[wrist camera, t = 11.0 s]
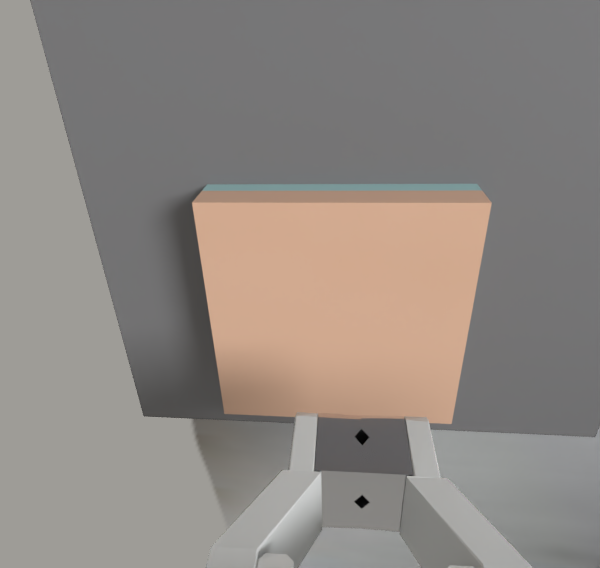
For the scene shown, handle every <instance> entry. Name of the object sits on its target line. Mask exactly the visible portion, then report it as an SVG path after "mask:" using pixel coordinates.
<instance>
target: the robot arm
mask: <svg viewBox="0 0 600 568" xmlns="http://www.w3.org/2000/svg"><path fill="white" fill-rule="evenodd" d="M322 527H334V528H362V529H373V530H385V531H396V532H400V535H401V537H402V538H403V540H404V541H405V543H406V544H407V546H408V548H409V549H410V551H411V552H412V554H413V555H414V557H415V558H416V560H417V561H418V563H419V565H420V566H421V568H533V567H532V566H531V565H530V564H529V563H528V562H527V561H526V560H525V559H524V558H523V557H522V556H521V555H520V553H519V552H518V551H517V550H516V549H515V548H514V547H513V546H512V545H511V544H510V543H509V542H508V541H507V540H506V539H505V538H504V537H503V536H502V535H501V534H500V532H499V531H498V530H497V529H496V528H495V527H494V526H493V525H492V524H491V523H490V522H489V521H488V520H487V519H486V518H485V517H484V516H483V515H482V514H481V513H480V511H479V510H478V509H477V508H476V507H475V506H474V505H473V504H472V503H471V502H470V501H469V500H468V499H467V498H466V497H465V496H464V495H463V494H462V493H461V492H460V491H459V489H458V488H457V487H456V486H455V485H454V484H453V483H452V482H451V481H450V480H449V479H448V478H441V476H440V472H439V467H438V462H437V457H436V453H435V448H434V443H433V439H432V434H431V429H430V424H429V420H428V419H427V417H407V416H404V417H403V416H372V415H361V416H360V415H344V414H328V413H319V415H318V413H305V412H297V413H296V416H295V422H294V430H293V438H292V446H291V454H290V461H289V469H288V470H281V472H280V473H279V474H278V475H277V476H276V477H275V478H274V479H273V480H272V481H271V482H270V483H269V485H268V486H267V487H266V488H265V489H264V490H263V491H262V492H261V493H260V494H259V495H258V497H257V498H256V499H255V500H254V501H253V502H252V503H251V504H250V505H249V506H248V507H247V508H246V510H245V511H244V512H243V513H242V514H241V515H240V516H239V517H238V518H237V519H236V520H235V521H234V523H233V524H232V525H231V526H230V527H229V528H228V529H227V530H226V531H225V532H224V533H223V535H222V536H221V537H220V538H219V539H218V540H217V541H216V542H215V544H213V545H212V547H211V549H210V553H209V557H208V560H207V564H206V568H298V567H299V565H300V564H301V562H302V560H303V559H304V557H305V556H306V554H307V553H308V551H309V550H310V548H311V546H312V545H313V543H314V542H315V540H316V539H317V537H318V535H319V534H320V532H321V531H322Z"/></svg>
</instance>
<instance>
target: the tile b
mask: <svg viewBox="0 0 600 568" xmlns="http://www.w3.org/2000/svg"><path fill="white" fill-rule="evenodd" d="M491 204H492V203H491V201H490V200H489V199H488V197H487V196H486V195H485V193H484V192H483V191H482V190H481V188H480V187H479V186H478V184H207V185H206V187H205V188H204V189H203V190H202V191H201V192H200V194H199V195H198V196H197V197H196V198H195V200H194V201H193V202H192V206H193V212H194V219H195V225H196V232H197V238H198V245H199V251H200V258H201V264H202V271H203V277H204V284H205V290H206V297H207V303H208V310H209V316H210V323H211V329H212V336H213V342H214V349H215V355H216V362H217V368H218V375H219V381H220V388H221V394H222V401H223V407H224V414H239V415H261V416H283V417H295V416H296V413H297V412H305V413H318V415H319V413H328V414H344V415H360V416H361V415H372V416H403V417H404V416H407V417H427V419H428V420H429V423H440V424H452V419H453V413H454V408H455V402H456V397H457V391H458V386H459V380H460V375H461V369H462V364H463V358H464V353H465V347H466V342H467V336H468V331H469V325H470V320H471V314H472V309H473V303H474V298H475V292H476V287H477V281H478V276H479V270H480V265H481V259H482V254H483V248H484V243H485V237H486V232H487V226H488V221H489V215H490V210H491Z"/></svg>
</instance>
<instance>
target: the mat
mask: <svg viewBox="0 0 600 568" xmlns="http://www.w3.org/2000/svg"><path fill="white" fill-rule="evenodd" d="M30 1H31V4H32V8H33V12H34V15H35V19H36V23H37V26H38V30H39V33H40V37H41V41H42V45H43V48H44V52H45V56H46V59H47V63H48V67H49V70H50V74H51V78H52V81H53V85H54V88H55V92H56V96H57V100H58V103H59V107H60V111H61V114H62V118H63V122H64V125H65V129H66V133H67V136H68V140H69V144H70V147H71V151H72V155H73V158H74V162H75V166H76V169H77V173H78V177H79V180H80V184H81V187H82V191H83V195H84V199H85V202H86V206H87V210H88V213H89V217H90V221H91V224H92V228H93V231H94V235H95V239H96V243H97V246H98V250H99V254H100V257H101V261H102V265H103V268H104V272H105V275H106V278H107V283H108V287H109V290H110V294H111V298H112V301H113V305H114V309H115V312H116V316H117V320H118V323H119V327H120V331H121V334H122V338H123V342H124V345H125V349H126V353H127V356H128V360H129V364H130V367H131V371H132V375H133V378H134V382H135V386H136V389H137V393H138V396H139V400H140V404H141V408H142V411H143V415H144V416H150V417H171V418H193V419H215V420H237V421H258V422H280V423H294V422H295V417H283V416H261V415H239V414H224V407H223V401H222V394H221V388H220V381H219V375H218V368H217V362H216V355H215V349H214V342H213V336H212V329H211V323H210V316H209V310H208V303H207V297H206V290H205V284H204V277H203V271H202V264H201V258H200V251H199V245H198V238H197V232H196V225H195V219H194V212H193V206H192V202H193V201H194V200H195V198H196V197H197V196H198V195H199V194H200V192H201V191H202V190H203V189H204V188H205V187H206V185H207V184H478V186H479V187H480V188H481V190H482V191H483V192H484V193H485V195H486V196H487V197H488V199H489V200H490V201H491V203H492V204H491V210H490V215H489V221H488V226H487V232H486V237H485V243H484V248H483V254H482V259H481V265H480V270H479V276H478V281H477V287H476V292H475V298H474V303H473V309H472V314H471V320H470V325H469V331H468V336H467V342H466V347H465V353H464V358H463V364H462V369H461V375H460V380H459V386H458V391H457V397H456V402H455V408H454V413H453V419H452V424H440V423H429V424H430V429H433V430H455V431H476V432H498V433H520V434H542V435H563V436H585V437H595V436H596V434H597V431H598V429H599V426H600V0H30Z"/></svg>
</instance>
